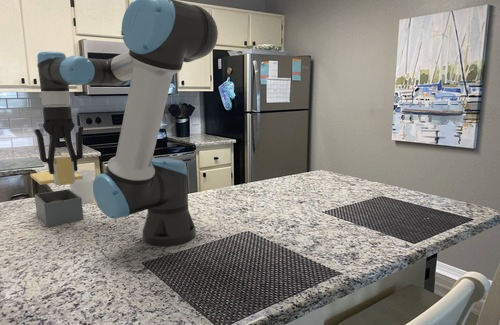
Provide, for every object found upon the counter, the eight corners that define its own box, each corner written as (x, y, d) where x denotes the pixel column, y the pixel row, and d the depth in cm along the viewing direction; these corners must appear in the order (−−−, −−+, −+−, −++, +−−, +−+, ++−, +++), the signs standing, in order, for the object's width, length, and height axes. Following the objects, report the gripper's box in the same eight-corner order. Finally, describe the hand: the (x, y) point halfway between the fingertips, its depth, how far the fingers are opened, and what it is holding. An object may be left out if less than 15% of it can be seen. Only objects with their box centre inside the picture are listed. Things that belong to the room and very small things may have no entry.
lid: (87, 181, 118) (85, 156, 117) (44, 187, 111) (41, 160, 109) (69, 171, 134) (67, 149, 133) (30, 176, 127) (27, 153, 125)
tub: (83, 221, 125) (81, 197, 124) (46, 228, 118) (44, 204, 117) (71, 210, 136) (69, 189, 135) (37, 216, 130) (34, 194, 128)
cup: (100, 199, 150) (98, 170, 148) (89, 206, 141) (86, 175, 139) (79, 199, 151) (76, 169, 149) (66, 205, 142) (63, 174, 140)
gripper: (83, 105, 120) (89, 177, 124) (21, 106, 110) (31, 185, 114) (90, 105, 114) (97, 180, 119) (26, 107, 104) (36, 189, 108)
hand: (64, 182), depth 116 cm, fingers closed on lid, 4 cm apart
